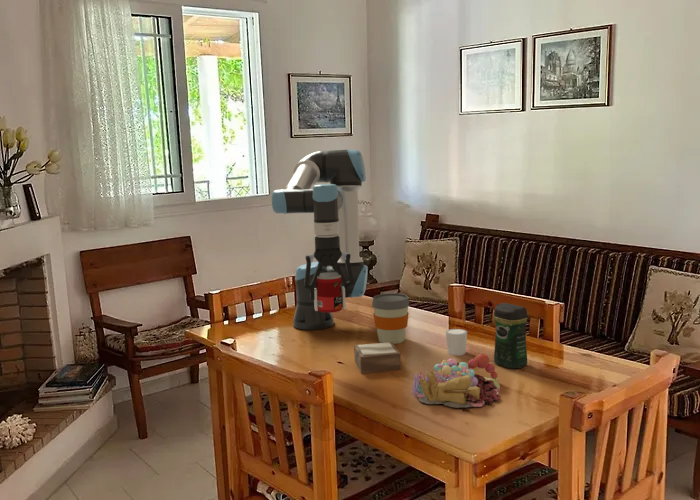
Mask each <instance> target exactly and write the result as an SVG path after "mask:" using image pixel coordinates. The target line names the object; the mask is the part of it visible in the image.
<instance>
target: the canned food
mask: <svg viewBox="0 0 700 500" xmlns="http://www.w3.org/2000/svg"><path fill="white" fill-rule="evenodd" d="M316 289H317V305H318V311H320V312H326V313H332V314H333V313H338V312H341V311H342V310H343V308H342V307H343V302H342V279H341V275H339V274H338V273H335V272H326V273H320V275H319V276H317V283H316Z"/></svg>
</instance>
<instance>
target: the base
mask: <svg viewBox="0 0 700 500" xmlns="http://www.w3.org/2000/svg"><path fill="white" fill-rule="evenodd" d="M353 353H354V362H355V364H356V366H357V368H358V369H359V372H360V373H361V374H367V373H369V374H370V373H377V372H378V373H379V372H380V373H381V372H389V371H400V370H401V368H402V365H401V363H402V362H401V353H400V352H399V350H398V348H396V346H395V344H393V343H392V342H386V343H381V342H378V343H377V342H375V343H365V344H354V345H353Z"/></svg>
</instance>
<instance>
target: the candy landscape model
mask: <svg viewBox="0 0 700 500" xmlns="http://www.w3.org/2000/svg"><path fill="white" fill-rule="evenodd" d="M476 368H478V369H484V370H485V372H486V373H488V374H490V377H485V376H482V375H480V374H476V372H475V369H476ZM495 370H496V368H495V365H494V364H492V363H490V358H489V357H488V355H487V354H485V353H478V354H477V355H475V357H474V358H471V359H469V360H468V362H465V361H462V362H458V361H457V360H456V359H455V358H449V359H443V360H442V361H441V363H436V364H435V365H434V366H433V370H432V371H428V370H427V371H426V373H425V374H424V375H423V373H422V372H419V373H418V371H417V370H416V371H415V373H414V374H413V384H412V388H411V389H412V395H413V396H415V397H417V398H418V400H419V402H421V403H422V404H423V403H424V404H427V405H440V404H441V405H442V404H443V405H444V406H446V407H450V408H457V409H459V408H472V407H474V408H475V407H478V408H480V407H481V408H482V407H483V406H484V405H485V404H488V405H491V406H492V405H493V401H496V402H499V400H500V398H501V395H500V394H499V392H500V389H501V385H500V382H499V381H498V380H499V379H498V373H497V372H496V371H495ZM425 375H426V376H425Z"/></svg>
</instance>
